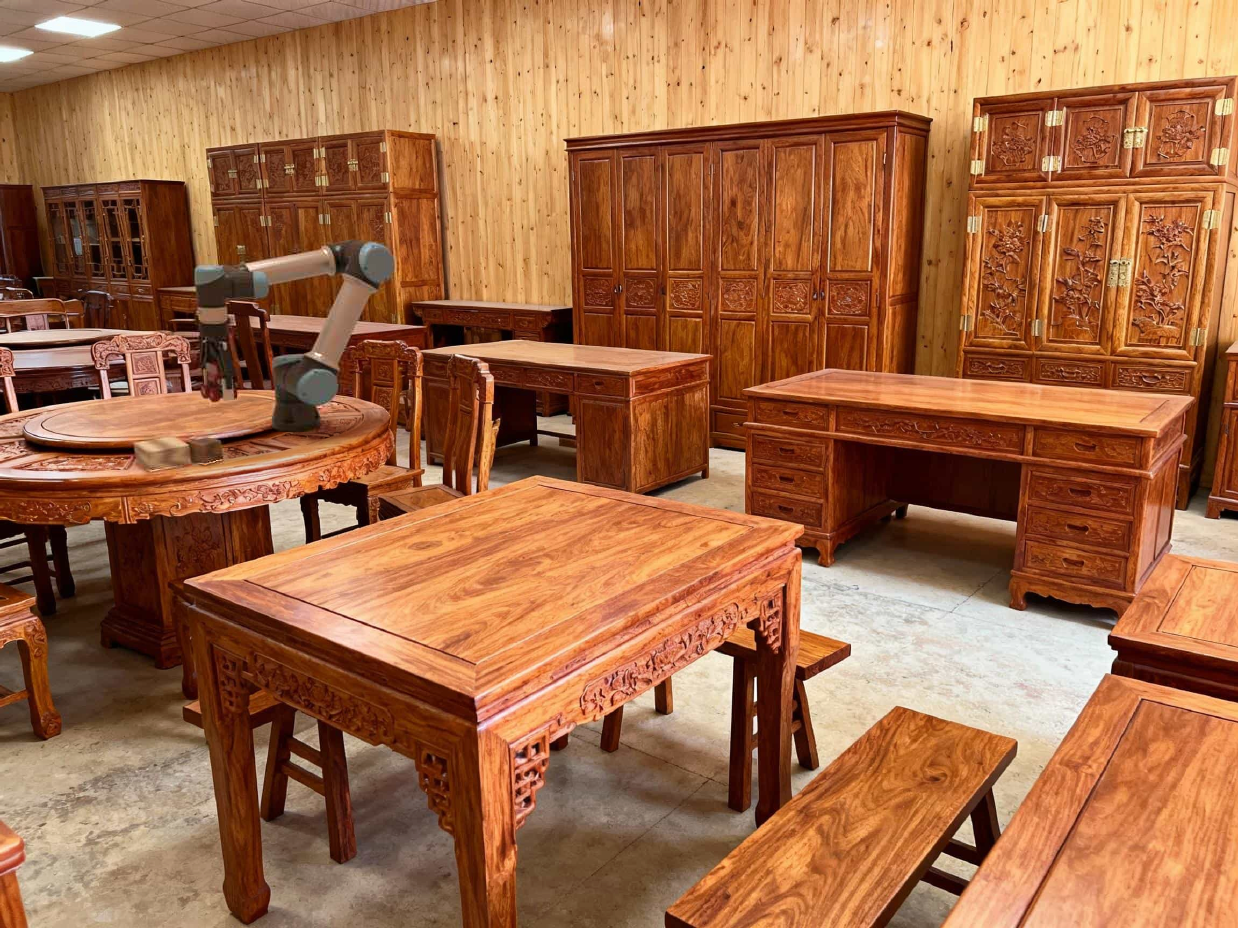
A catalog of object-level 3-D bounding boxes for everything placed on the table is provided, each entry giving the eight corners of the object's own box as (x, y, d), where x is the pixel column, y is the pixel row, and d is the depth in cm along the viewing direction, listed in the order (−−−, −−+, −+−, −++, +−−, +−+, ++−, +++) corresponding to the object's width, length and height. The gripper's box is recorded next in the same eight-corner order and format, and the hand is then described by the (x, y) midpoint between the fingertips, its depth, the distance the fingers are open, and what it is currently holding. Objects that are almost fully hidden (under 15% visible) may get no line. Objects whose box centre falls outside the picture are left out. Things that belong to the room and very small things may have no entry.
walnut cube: (209, 456, 266) (207, 436, 264) (222, 460, 263) (220, 440, 261) (190, 462, 261) (188, 441, 259) (204, 466, 258) (202, 445, 256)
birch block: (176, 455, 266) (174, 436, 264) (191, 465, 259) (189, 445, 257) (136, 463, 259) (133, 443, 257) (150, 473, 251) (147, 452, 249)
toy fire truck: (218, 405, 260) (215, 369, 257) (198, 396, 268) (194, 361, 264) (242, 401, 265) (239, 366, 262) (221, 393, 273) (218, 358, 269)
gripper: (182, 316, 265) (189, 388, 271) (217, 329, 248) (223, 406, 255) (209, 314, 270) (215, 385, 277) (244, 327, 254) (250, 402, 260)
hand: (219, 395), depth 266 cm, fingers closed on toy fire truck, 12 cm apart
